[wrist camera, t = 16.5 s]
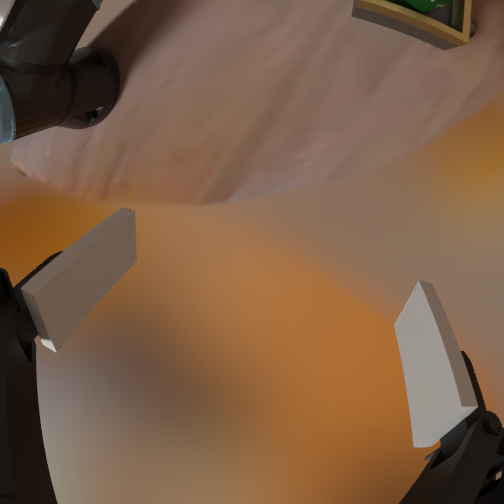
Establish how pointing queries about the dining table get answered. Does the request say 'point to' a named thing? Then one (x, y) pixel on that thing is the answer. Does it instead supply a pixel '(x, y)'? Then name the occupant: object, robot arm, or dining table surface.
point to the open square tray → (421, 20)
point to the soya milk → (427, 5)
